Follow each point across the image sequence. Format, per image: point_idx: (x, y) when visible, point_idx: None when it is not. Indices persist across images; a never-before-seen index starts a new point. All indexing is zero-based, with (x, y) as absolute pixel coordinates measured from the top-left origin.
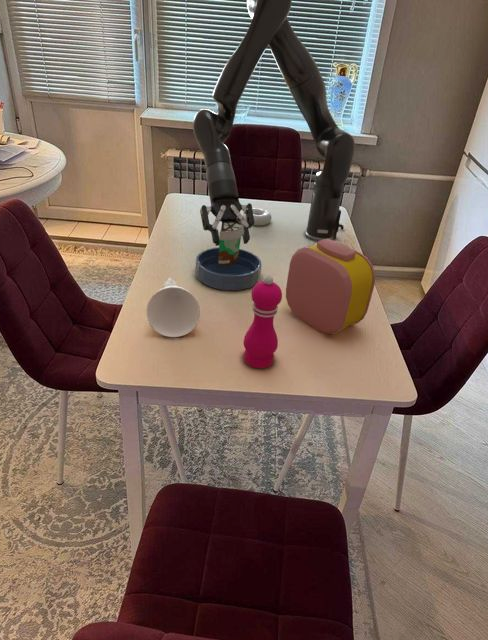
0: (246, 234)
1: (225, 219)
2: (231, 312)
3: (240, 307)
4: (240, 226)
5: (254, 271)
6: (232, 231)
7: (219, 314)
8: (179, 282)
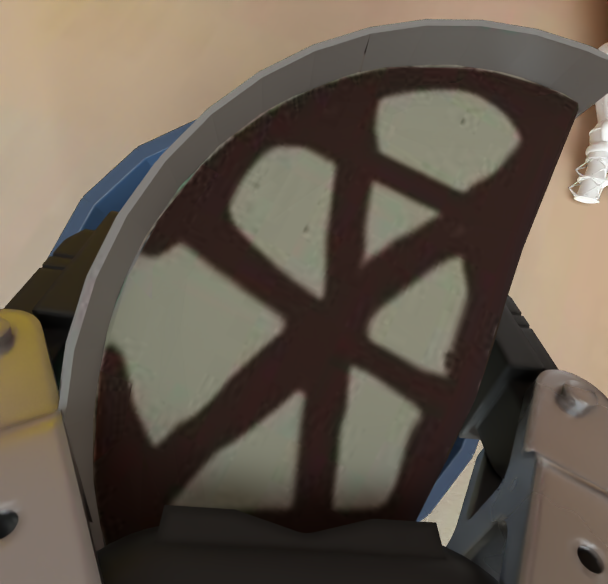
0: (96, 248)
1: (383, 529)
2: (400, 10)
3: (345, 30)
4: (147, 288)
5: (178, 135)
6: (432, 24)
7: (454, 15)
8: (541, 334)
